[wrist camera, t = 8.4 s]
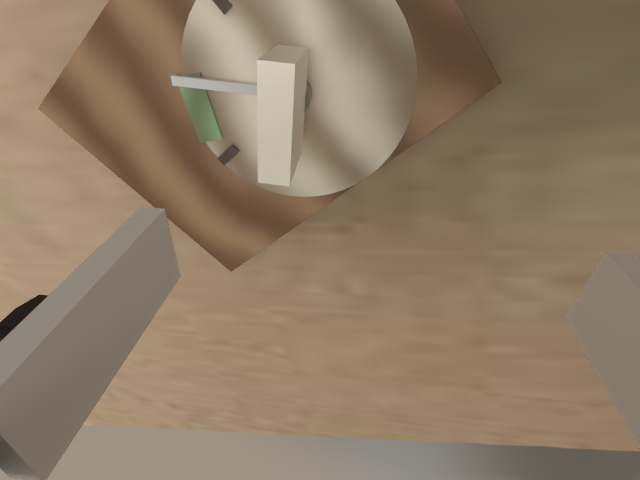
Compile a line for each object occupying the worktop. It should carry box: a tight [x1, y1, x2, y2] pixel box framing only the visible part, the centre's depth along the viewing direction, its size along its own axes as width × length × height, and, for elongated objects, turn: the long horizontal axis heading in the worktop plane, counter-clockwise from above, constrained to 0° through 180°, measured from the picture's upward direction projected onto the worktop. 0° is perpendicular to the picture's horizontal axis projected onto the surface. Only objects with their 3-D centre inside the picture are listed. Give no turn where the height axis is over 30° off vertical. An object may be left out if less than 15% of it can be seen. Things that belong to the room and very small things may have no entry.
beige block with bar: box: [171, 44, 312, 186], centre depth 24 cm, size 7×11×9 cm, turn 85°
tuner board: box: [38, 0, 501, 271], centre depth 29 cm, size 30×22×2 cm
